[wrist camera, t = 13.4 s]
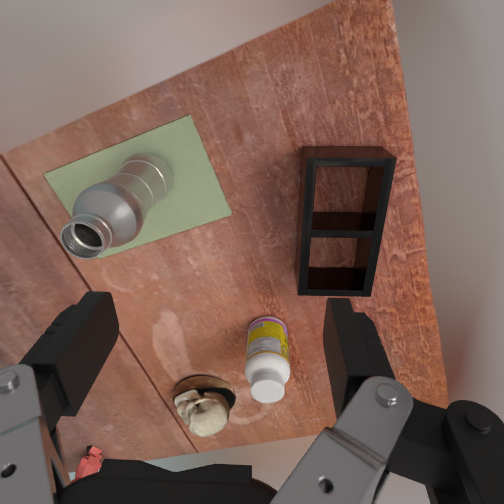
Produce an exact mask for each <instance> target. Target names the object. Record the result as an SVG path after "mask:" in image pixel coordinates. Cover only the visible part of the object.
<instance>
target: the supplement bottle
mask: <svg viewBox="0 0 504 504" xmlns="http://www.w3.org/2000/svg"><path fill="white" fill-rule="evenodd" d="M245 375H246V378H247V380H248V381H249V383H250V384H251V395H252V396H253V398H254V399H256V400H257V401H259V402H262V403H273V402H276V401H278V400H280V399H281V398H282V397H283V395H284V384H285V383H286V382H287V380H288V379H289V376H290V363H289V347H288V333H287V328H286V326H285V324H284V323H283V322H282V321H281V320H279V319H277V318H275V317H269V316H265V317H260V318H258V319H256V320H254V321H253V322H252V323H251V325H250V326H249V329H248V338H247V352H246V365H245Z"/></svg>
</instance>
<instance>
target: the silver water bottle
mask: <svg viewBox="0 0 504 504" xmlns="http://www.w3.org/2000/svg"><path fill="white" fill-rule="evenodd" d="M172 182H173V175H172V171H171V169H170V167H169V165H168V164H167V163H166V162H165V161H164V160H163V159H162V158H161V157H159V156H157V155H155V154H152V153H138V154H134V155H131V156H130V157H128V158H127V159H126V160H124V162H123V163H122V164H121V166H120V167H119V169H118V171H117V172H116V173H115V174H114V176H112V177H110V178H109V179H107V180H105V181H102V182H99V183H97V184H94V185H92V186H90V187H88V188H86V189H85V190H83V191H82V192H81V193H80V194H79V195H78V197H77V198H76V201H75V203H74V206H73V211H72V215H73V218H72V219H71V220H70V221H69V222H68V223H67V224H66V225H65V226H64V227H63V229H62V230H61V233H60V240H61V243H62V245H63V247H64V248H65V249H66V250H67V251H68V252H69V253H70V254H72V255H73V256H75V257H77V258H81V259H94V258H96V257H98V256H99V255H101V254H102V253H103V252H104V251H105V250H107V249H108V248H109V247H119V246H122V245H124V244H126V243H129V242H131V241H132V240H133V239H135V238H136V237H137V235H138V234H139V232H140V231H141V229H142V227H143V224H144V221H145V219H146V216H147V214H148V212H149V210H150V209H151V208H152V207H153V206H154V205H155V204H156V203H158V202H160V201H161V200H163V199H164V198H165V197H166V196H167V195H168V194H169V192H170V190H171V187H172Z"/></svg>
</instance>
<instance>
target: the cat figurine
mask: <svg viewBox="0 0 504 504" xmlns="http://www.w3.org/2000/svg"><path fill="white" fill-rule="evenodd" d="M87 451H88V454H89V455H87V456H83V457H82V459H81V460H80V462H79V464H78V466H77V468H76V474H75V479H74V480H72V481H71V483H72V482H74V481H76V480H78V479H80V478H82V477H85V476H87V475H90V474H93V473H96V472H98V469H100V468H101V466H102V465H100V461H99V459H100V458H101V457H102V456H101V455H99V454H100V453H101V452H102V451H101V450H100V449H98V448H96V447H94V446H88V447H87Z"/></svg>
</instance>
